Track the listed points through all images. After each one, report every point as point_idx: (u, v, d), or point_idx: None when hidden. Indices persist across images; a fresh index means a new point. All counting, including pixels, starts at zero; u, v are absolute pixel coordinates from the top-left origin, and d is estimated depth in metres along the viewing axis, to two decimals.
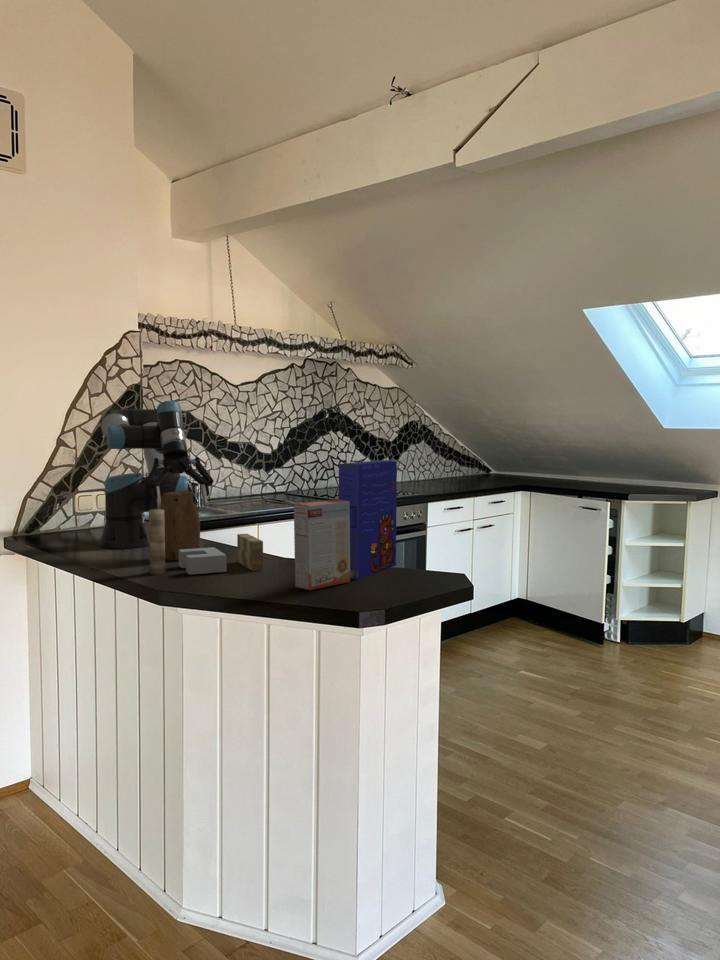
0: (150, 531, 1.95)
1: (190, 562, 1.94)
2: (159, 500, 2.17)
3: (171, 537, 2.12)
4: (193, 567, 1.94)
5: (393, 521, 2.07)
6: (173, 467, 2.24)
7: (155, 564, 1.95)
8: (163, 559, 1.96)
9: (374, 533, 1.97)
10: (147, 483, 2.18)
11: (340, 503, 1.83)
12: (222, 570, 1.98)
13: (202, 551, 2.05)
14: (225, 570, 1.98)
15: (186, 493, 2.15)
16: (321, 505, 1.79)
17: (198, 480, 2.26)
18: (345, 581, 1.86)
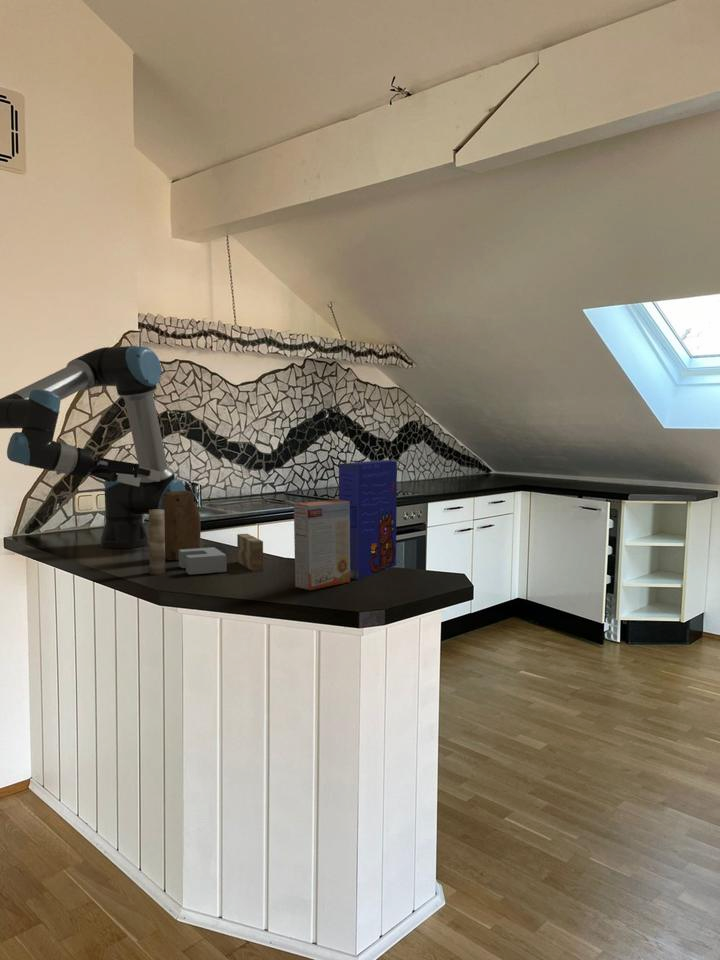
0: (150, 531, 1.95)
1: (190, 562, 1.94)
2: (132, 485, 2.08)
3: (171, 537, 2.12)
4: (193, 567, 1.94)
5: (393, 521, 2.07)
6: None
7: (155, 564, 1.95)
8: (163, 559, 1.96)
9: (374, 533, 1.97)
10: (108, 481, 2.07)
11: (340, 503, 1.83)
12: (222, 570, 1.98)
13: (202, 551, 2.05)
14: (225, 570, 1.98)
15: (187, 493, 2.15)
16: (321, 505, 1.79)
17: None
18: (345, 581, 1.86)
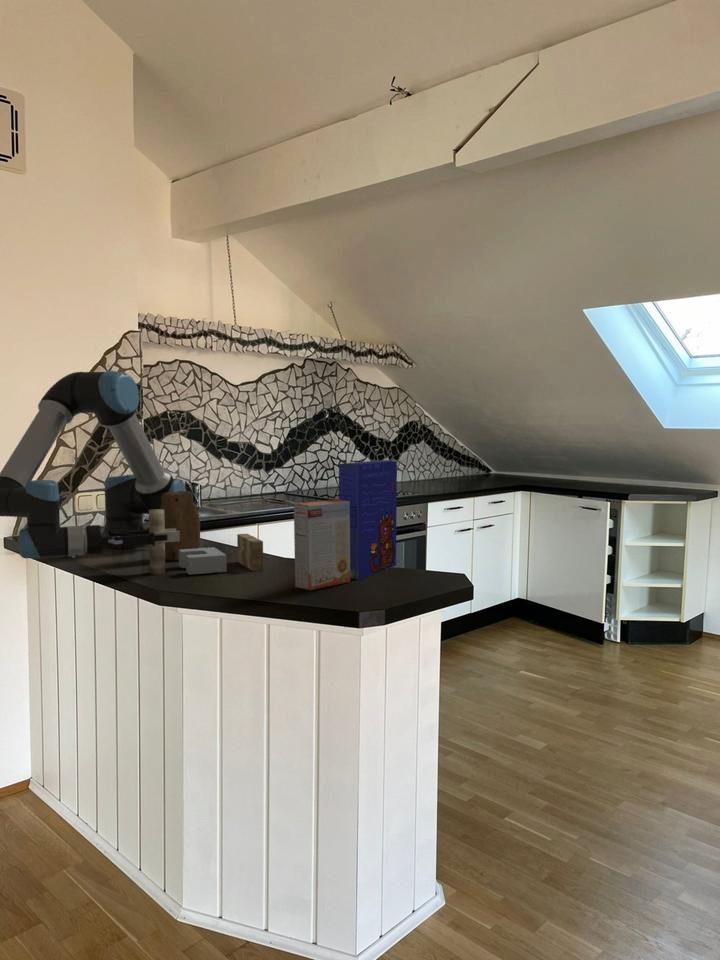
0: (150, 531, 1.95)
1: (190, 562, 1.94)
2: None
3: None
4: (193, 567, 1.94)
5: (393, 521, 2.07)
6: None
7: (155, 564, 1.95)
8: (163, 559, 1.96)
9: (374, 533, 1.97)
10: None
11: (340, 503, 1.83)
12: (222, 570, 1.98)
13: (202, 551, 2.05)
14: (225, 570, 1.98)
15: (186, 493, 2.15)
16: (321, 505, 1.79)
17: None
18: (345, 581, 1.86)
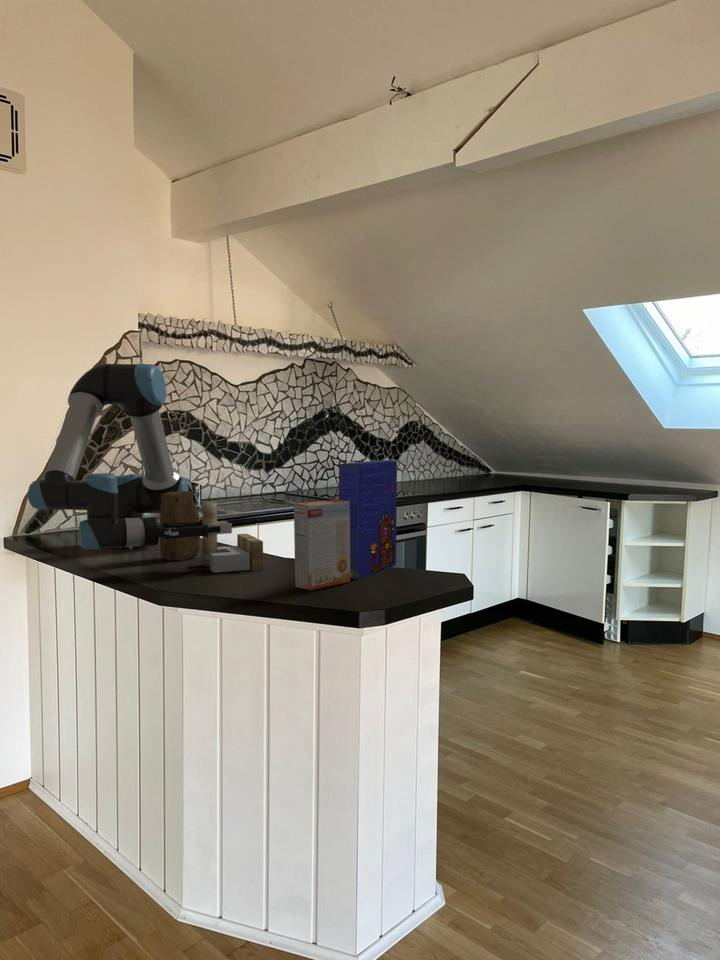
0: (203, 523, 2.00)
1: (214, 560, 1.97)
2: None
3: None
4: (217, 565, 1.97)
5: (393, 521, 2.07)
6: None
7: (207, 556, 2.00)
8: (215, 551, 2.01)
9: (374, 533, 1.97)
10: None
11: (340, 503, 1.83)
12: (245, 568, 2.01)
13: (225, 549, 2.08)
14: (248, 568, 2.01)
15: (186, 493, 2.15)
16: (321, 505, 1.79)
17: None
18: (345, 581, 1.86)
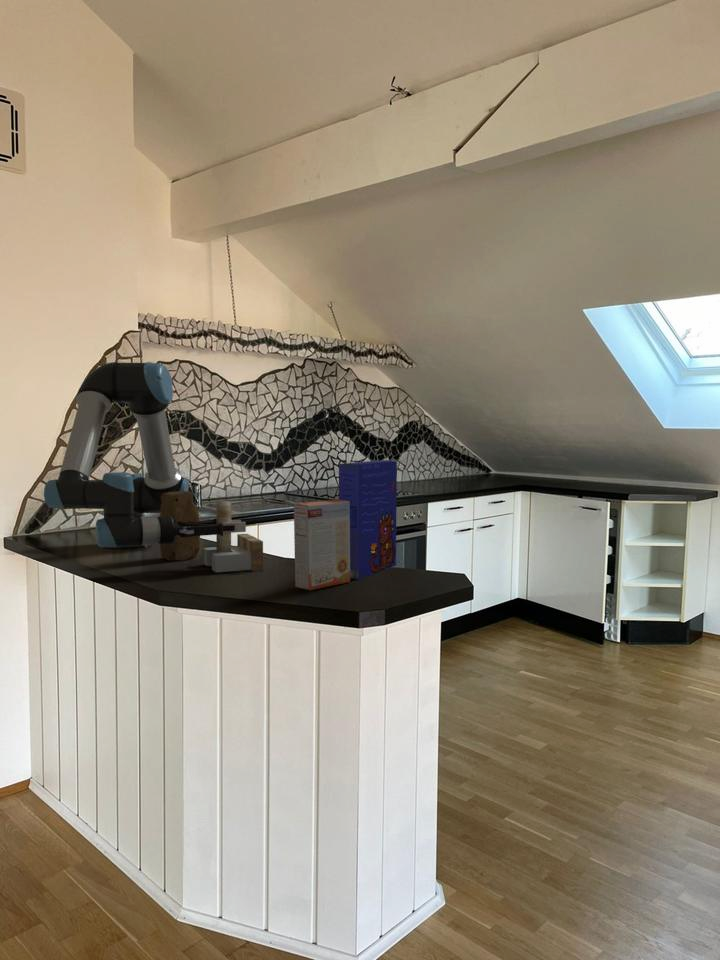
0: (218, 522, 2.02)
1: (216, 560, 1.97)
2: None
3: None
4: (219, 565, 1.97)
5: (393, 521, 2.07)
6: None
7: None
8: (229, 549, 2.04)
9: (374, 533, 1.97)
10: None
11: (340, 503, 1.83)
12: (247, 568, 2.01)
13: None
14: (250, 568, 2.01)
15: (186, 493, 2.15)
16: (321, 505, 1.79)
17: None
18: (345, 581, 1.86)
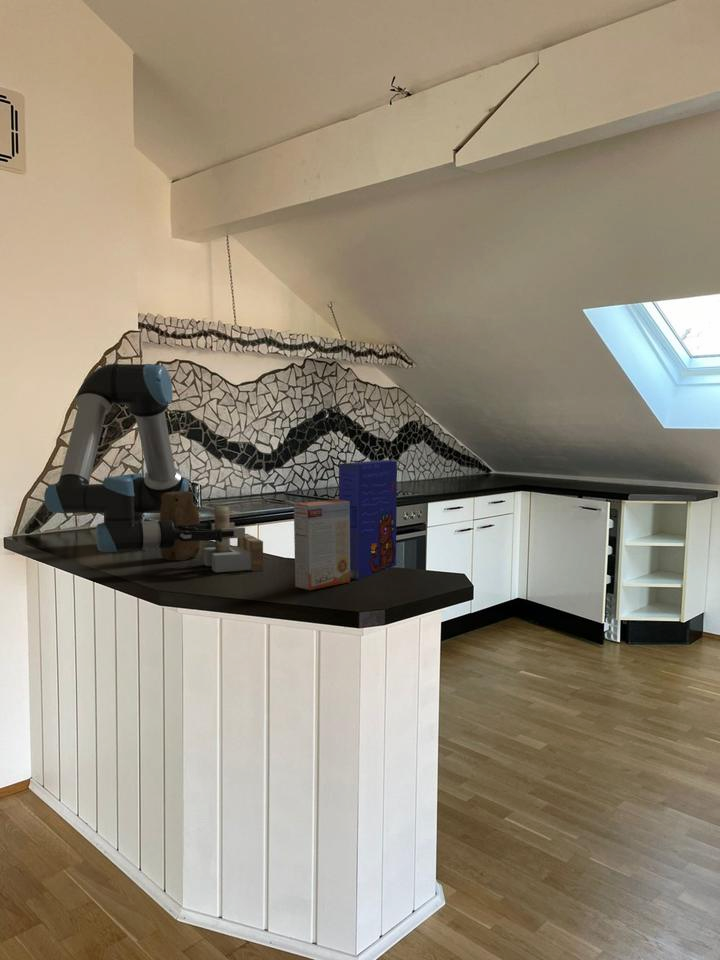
0: (216, 527, 2.02)
1: (216, 560, 1.97)
2: None
3: None
4: (219, 565, 1.97)
5: (393, 521, 2.07)
6: None
7: None
8: None
9: (374, 533, 1.97)
10: None
11: (340, 503, 1.83)
12: (247, 568, 2.01)
13: None
14: (250, 568, 2.01)
15: (186, 493, 2.15)
16: (321, 505, 1.79)
17: None
18: (345, 581, 1.86)
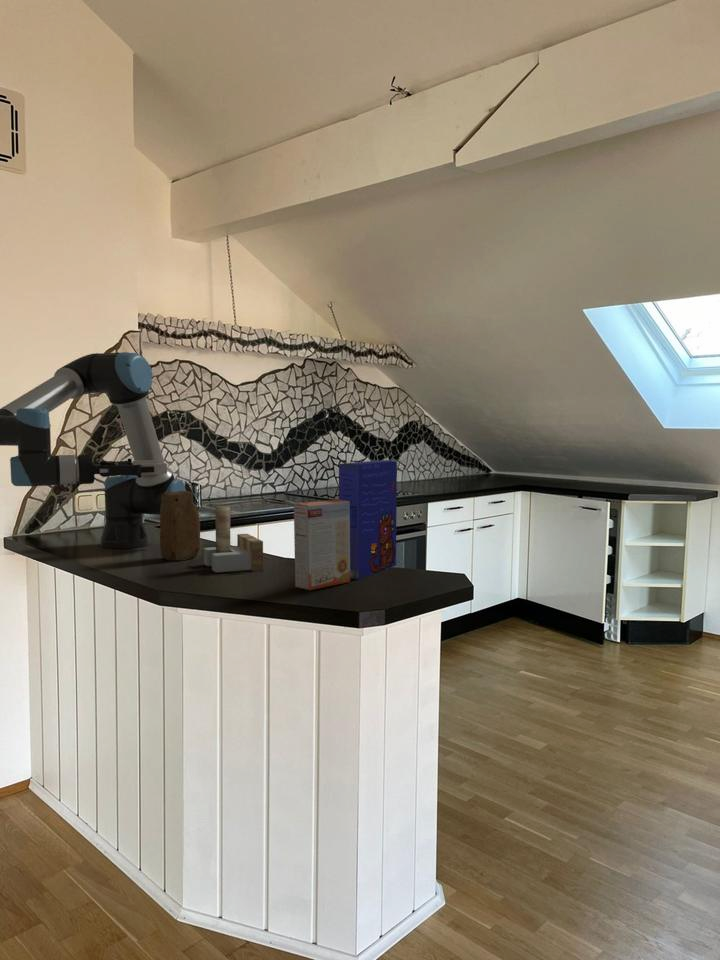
0: (217, 527, 2.03)
1: (216, 560, 1.97)
2: None
3: (171, 537, 2.12)
4: (219, 565, 1.97)
5: (393, 521, 2.07)
6: None
7: None
8: None
9: (374, 533, 1.97)
10: None
11: (340, 503, 1.83)
12: (247, 568, 2.01)
13: None
14: (250, 568, 2.01)
15: (186, 493, 2.15)
16: (321, 505, 1.79)
17: None
18: (345, 581, 1.86)
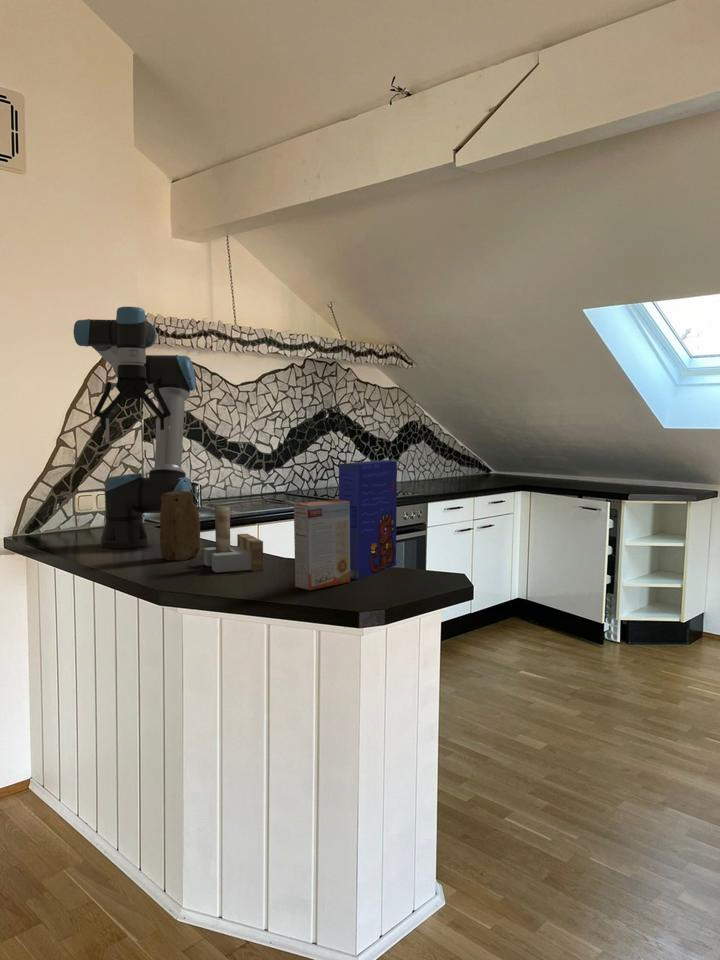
0: (216, 527, 2.03)
1: (216, 560, 1.97)
2: (107, 436, 1.99)
3: (171, 537, 2.12)
4: (219, 565, 1.97)
5: (393, 521, 2.07)
6: (127, 394, 2.01)
7: None
8: None
9: (374, 533, 1.97)
10: (96, 414, 1.98)
11: (340, 503, 1.83)
12: (247, 568, 2.01)
13: None
14: (250, 568, 2.01)
15: (186, 493, 2.15)
16: (321, 505, 1.79)
17: (154, 411, 2.05)
18: (345, 581, 1.86)
